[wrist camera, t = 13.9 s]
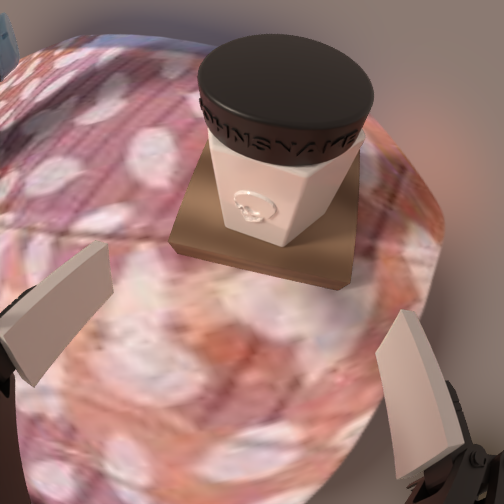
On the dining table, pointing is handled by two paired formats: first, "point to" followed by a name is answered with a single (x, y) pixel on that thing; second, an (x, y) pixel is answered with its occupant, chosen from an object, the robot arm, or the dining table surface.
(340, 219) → the peg stand
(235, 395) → the dining table surface
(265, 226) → the jar
